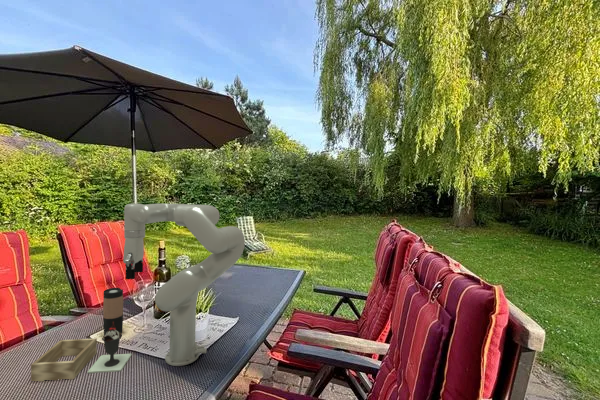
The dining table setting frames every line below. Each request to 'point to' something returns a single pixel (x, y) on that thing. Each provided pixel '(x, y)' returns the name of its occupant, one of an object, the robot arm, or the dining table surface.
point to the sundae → (112, 345)
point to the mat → (101, 368)
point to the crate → (66, 369)
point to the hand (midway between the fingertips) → (134, 275)
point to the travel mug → (113, 309)
